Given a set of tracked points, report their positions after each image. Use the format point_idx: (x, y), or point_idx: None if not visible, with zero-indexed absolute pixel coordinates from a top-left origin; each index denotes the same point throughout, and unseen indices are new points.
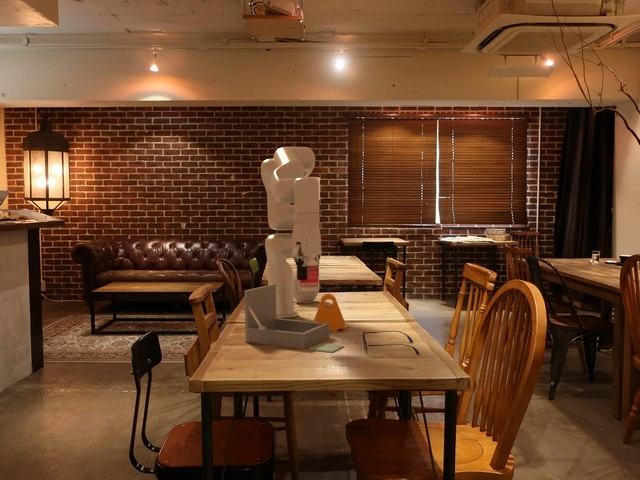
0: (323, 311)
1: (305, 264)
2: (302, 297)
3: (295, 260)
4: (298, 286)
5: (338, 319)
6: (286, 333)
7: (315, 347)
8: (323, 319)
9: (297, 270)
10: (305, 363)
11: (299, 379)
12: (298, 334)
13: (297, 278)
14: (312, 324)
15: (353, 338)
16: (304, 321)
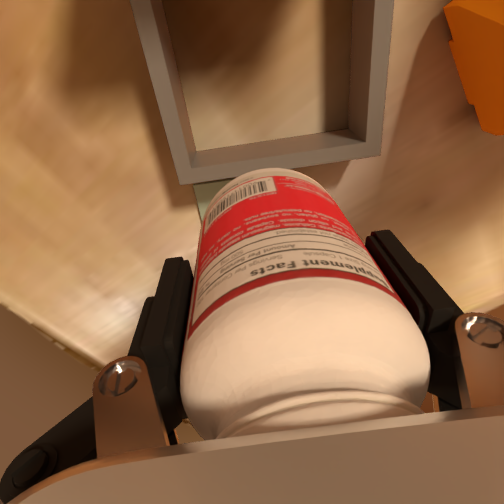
0: None
1: (172, 439)
2: None
3: (8, 483)
4: (210, 208)
5: (500, 116)
6: (159, 104)
7: (214, 192)
8: (485, 55)
9: (151, 318)
10: (92, 252)
11: (8, 305)
12: (174, 163)
13: (166, 264)
14: (367, 79)
15: (378, 209)
16: (383, 20)
